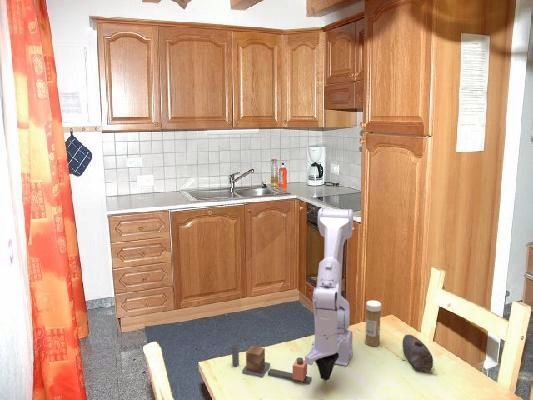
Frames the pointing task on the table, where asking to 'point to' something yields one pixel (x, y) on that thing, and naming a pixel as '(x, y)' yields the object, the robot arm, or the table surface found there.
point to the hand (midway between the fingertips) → (325, 378)
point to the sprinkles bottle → (373, 323)
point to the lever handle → (299, 369)
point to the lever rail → (287, 376)
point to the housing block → (255, 358)
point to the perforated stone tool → (417, 353)
